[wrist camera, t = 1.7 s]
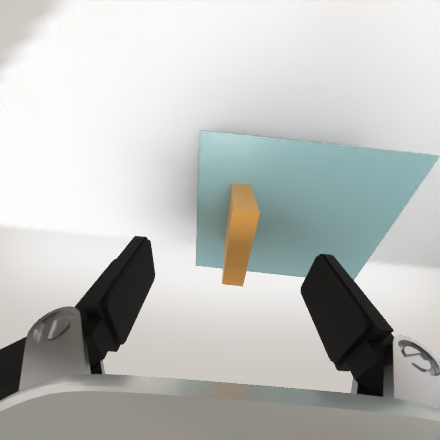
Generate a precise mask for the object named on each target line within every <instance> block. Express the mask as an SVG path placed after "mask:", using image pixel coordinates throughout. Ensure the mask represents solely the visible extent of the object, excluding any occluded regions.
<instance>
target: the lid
mask: <svg viewBox="0 0 440 440" xmlns="http://www.w3.org/2000/svg"><path fill="white" fill-rule="evenodd" d="M438 158H439V156H437V155H431V154H422V153H413V152H403V151H394V150H384V149H375V148H365V147H356V146H346V145H337V144H327V143H318V142H308V141H299V140H289V139H280V138H270V137H261V136H252V135H242V134H233V133H223V132H214V131H204V130H200V137H199V172H198V207H197V242H196V266H205V267H215V268H223V279H222V284H227V285H237V286H243V283H244V279H245V274H246V271H252V272H261V273H270V274H280V275H289V276H298V277H306V276H307V274H308V272H309V270H310V268H311V266H312V264H313V262H314V260H315V258H316V256H319V255H320V254H331V255H333V256H334V257H335V258H336V259H337V260H338V262H339V263H340V264H341V265H342V267H343V268H344V269H345V270H346V272H347V273H348V274H349V275H350V277H351V278H352V279H353V280H354V279H355V278H356V276H357V275H358V273H359V272H360V270H361V269H362V267H363V266H364V265H365V263H366V262H367V260H368V259H369V257H370V256H371V255H372V253H373V252H374V250H375V249H376V247H377V246H378V244H379V243H380V242H381V240H382V239H383V237H384V236H385V234H386V233H387V231H388V230H389V229H390V227H391V226H392V224H393V223H394V221H395V220H396V218H397V217H398V216H399V214H400V213H401V211H402V210H403V208H404V207H405V205H406V204H407V203H408V201H409V200H410V198H411V197H412V195H413V194H414V193H415V191H416V190H417V188H418V187H419V185H420V184H421V182H422V181H423V180H424V178H425V177H426V175H427V174H428V172H429V171H430V169H431V168H432V167H433V165H434V164H435V162H436V161H437V159H438Z"/></svg>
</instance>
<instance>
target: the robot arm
mask: <svg viewBox="0 0 440 440" xmlns="http://www.w3.org/2000/svg"><path fill="white" fill-rule="evenodd" d="M154 278H155V270H154V263H153V256H152V248H151V242H150V240H148V239H147V237H140V236H135V237H134V238H133V239H132V240H131V242H130V243H129V244H128V245H127V247H126V248H125V249H124V250H123V252H122V253H121V254H120V255H119V256H118V258H117V259H115V260H114V261H112V262H111V264H110V265H109V266H108V267H107V269H106V270H105V271H104V272H103V273H102V274H101V276H100V277H99V278H98V280H97V281H96V282H95V283H94V284H93V285H92V287H91V288H90V289H89V290H88V291H87V293H86V294H85V295H84V297H83V298H82V299H81V300H80V301H79V303H78V304H77V305H76V306H75V307H70V306H69V307H62V308H59V309H56V310H53V311H51V312H49V313H47V314H46V315H45V316H43V317H42V318H40V319H39V320H38V321H37V322H36V323H35V324H34V325H33V326H32V328H31V329H30V330H29V332H28V335H27V337H25V338H23V339H21V340H19V341H17V342H15V343H13V344H11V345H9V346H7V347H5V348H3V349H0V440H440V361H439V360H438V359H437V358H436V357H435V356H434V355H433V354H432V353H431V352H430V351H429V350H428V349H427V348H425V347H424V346H423V345H421V344H420V343H418V342H417V341H415V340H413V339H411V338H409V337H405V336H396V337H394V336H393V335H392V334H391V332H393V331H394V330H393V329H392V328H391V326H390V325H389V324H388V323H387V321H386V320H385V319H384V318H383V316H382V315H381V314H380V313H379V311H378V310H377V309H376V308H375V307H374V305H373V304H372V303H371V302H370V301H369V299H368V298H367V297H366V295H365V294H364V293H363V292H362V290H361V289H360V288H359V287H358V285H357V284H356V283H355V282H354V280H353V279H352V278H351V277H350V275H349V274H348V273H347V272H346V270H345V269H344V268H343V267H342V265H341V264H340V263H339V262H338V260H337V259H336V258H335V257H334V256H333V255H331V254H320V255H319V256H316V258H315V260H314V262H313V264H312V266H311V268H310V270H309V272H308V274H307V276H306V278H305V280H304V282H303V284H302V286H301V294H302V297H303V299H304V301H305V304H306V306H307V308H308V310H309V313H310V315H311V317H312V320H313V322H314V324H315V326H316V329H317V331H318V333H319V336H320V338H321V340H322V343H323V345H324V347H325V350H326V352H327V354H328V357H329V358H330V360H331V361H332V362H334V364H335V367H336V369H337V370H339V371H351V373H352V375H353V382H352V389H351V393H340V392H329V391H318V390H306V389H295V388H284V387H272V386H260V385H248V384H247V385H246V384H235V383H222V382H210V381H198V380H197V381H196V380H184V379H172V378H159V377H145V376H127V375H109V374H108V375H107V374H105V372H104V365H103V359H104V358H105V356H106V354H107V352H108V351H114V352H117V351H118V349H119V347H120V345H121V344H124V343H125V341H126V340H127V337H128V335H129V333H130V331H131V329H132V326H133V324H134V322H135V320H136V318H137V316H138V313H139V312H140V309H141V307H142V305H143V303H144V301H145V299H146V296H147V294H148V292H149V290H150V288H151V285H152V283H153V281H154Z"/></svg>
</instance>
